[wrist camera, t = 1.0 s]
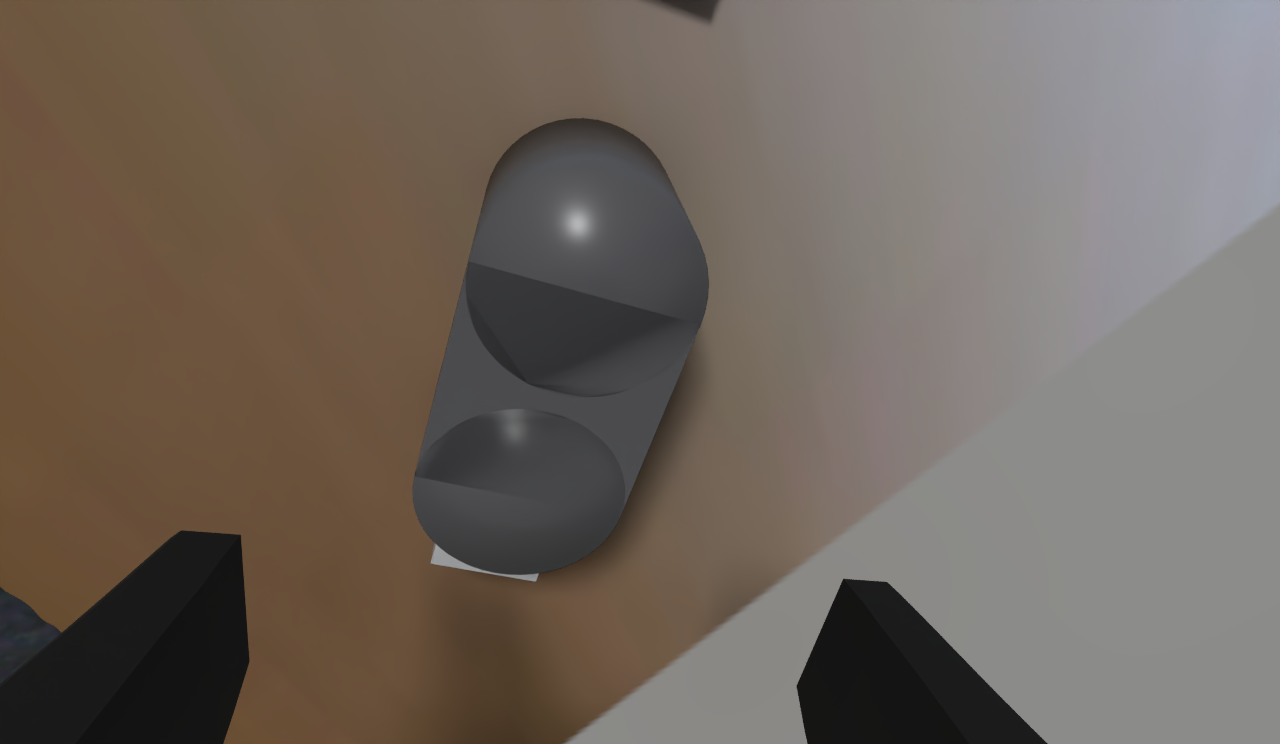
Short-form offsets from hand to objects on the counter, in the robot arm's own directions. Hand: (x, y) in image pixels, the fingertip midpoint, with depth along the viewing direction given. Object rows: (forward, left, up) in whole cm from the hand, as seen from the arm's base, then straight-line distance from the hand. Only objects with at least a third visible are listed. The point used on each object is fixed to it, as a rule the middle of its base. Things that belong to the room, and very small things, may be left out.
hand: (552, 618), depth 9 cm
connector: (0, 0, -9) cm, 9 cm away
